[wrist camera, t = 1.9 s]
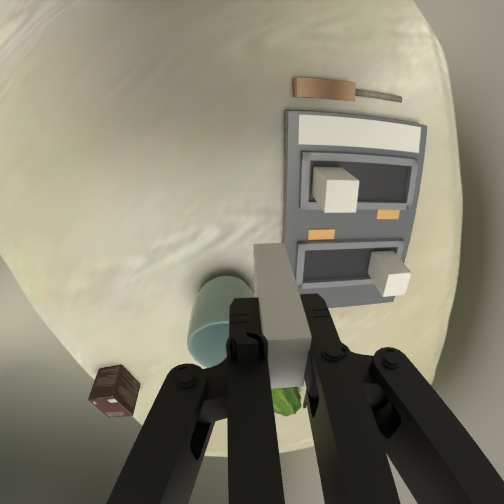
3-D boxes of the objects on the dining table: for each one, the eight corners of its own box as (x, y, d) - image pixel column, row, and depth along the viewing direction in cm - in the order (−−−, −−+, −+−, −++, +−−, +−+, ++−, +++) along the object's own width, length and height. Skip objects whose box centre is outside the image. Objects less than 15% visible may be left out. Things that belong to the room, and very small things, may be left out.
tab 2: (371, 251, 34) (388, 274, 29) (392, 250, 34) (411, 272, 30) (367, 272, 35) (382, 296, 31) (388, 271, 35) (404, 294, 31)
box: (116, 387, 49) (108, 418, 42) (98, 367, 46) (86, 399, 40) (141, 384, 48) (134, 416, 42) (122, 363, 45) (112, 397, 39)
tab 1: (313, 166, 29) (326, 179, 24) (341, 167, 29) (359, 180, 24) (311, 194, 30) (324, 212, 26) (339, 194, 30) (355, 212, 26)
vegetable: (270, 381, 35) (303, 436, 45) (288, 339, 41) (314, 403, 50) (223, 373, 39) (266, 428, 49) (244, 335, 44) (279, 398, 54)
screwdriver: (293, 96, 27) (296, 96, 26) (293, 78, 26) (296, 77, 25) (396, 107, 28) (404, 108, 26) (396, 90, 27) (405, 91, 25)
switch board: (285, 110, 28) (289, 111, 26) (417, 123, 29) (431, 126, 26) (280, 301, 40) (282, 315, 37) (387, 293, 40) (395, 305, 38)
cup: (239, 256, 36) (241, 310, 27) (266, 301, 40) (274, 358, 31) (184, 280, 37) (172, 336, 29) (215, 321, 41) (211, 378, 32)
